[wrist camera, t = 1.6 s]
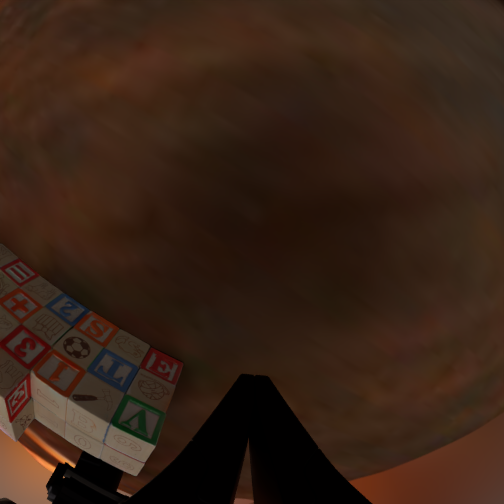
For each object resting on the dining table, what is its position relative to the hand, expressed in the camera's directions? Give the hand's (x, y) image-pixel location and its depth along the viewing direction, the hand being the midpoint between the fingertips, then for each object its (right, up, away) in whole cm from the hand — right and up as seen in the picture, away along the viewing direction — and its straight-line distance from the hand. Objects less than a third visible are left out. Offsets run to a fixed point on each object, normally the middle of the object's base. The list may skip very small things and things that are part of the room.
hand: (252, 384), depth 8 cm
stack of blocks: (-16, -2, +14) cm, 22 cm away
